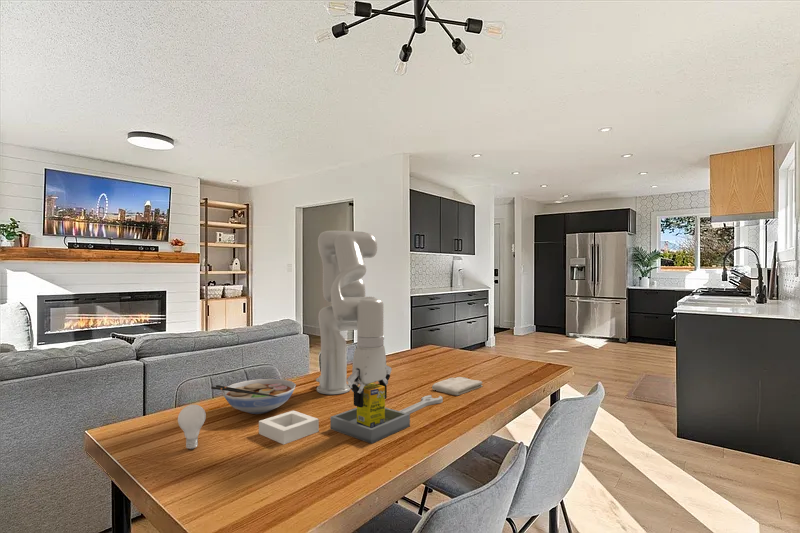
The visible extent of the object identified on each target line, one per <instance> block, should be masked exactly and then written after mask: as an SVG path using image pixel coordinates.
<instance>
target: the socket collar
mask: <svg viewBox="0 0 800 533" xmlns="http://www.w3.org/2000/svg"><path fill="white" fill-rule="evenodd" d="M319 420H320V419H319V418H317V417H314V416H312V415H307V414H305V413H302V412H299V411H297V410H290V411H287V412H284V413H280V414H277V415H274V416H271V417H267V418H265V419H261V420H258V434H259V435H260V436H263V437H266V438H268V439H270V440H272V441H275V442H276V443H279V444H281V445H286V444H288V443H292V442H294V441H297V440H300V439H302V438H305V437H307V436H310V435H313V434H316V433H318V432H320V431H319V430H320V427H319V426H320V424H319Z"/></svg>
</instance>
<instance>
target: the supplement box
mask: <svg viewBox="0 0 800 533" xmlns="http://www.w3.org/2000/svg"><path fill="white" fill-rule="evenodd" d="M359 386H360V385H358V387H359ZM362 393H363V407H357V406H356V408H357V424H360V425H363V426H366V427H369V428H373V427H376V426H378V425H380V424H383V423H385V407H386V399H385V386H381V385H378V383H376V382H374V383H370V384H367V385H365V386H364V388H363V390H362Z"/></svg>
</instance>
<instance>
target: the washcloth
mask: <svg viewBox="0 0 800 533" xmlns="http://www.w3.org/2000/svg"><path fill="white" fill-rule="evenodd" d="M483 387H484V386H483V381H481V380H478V379H472V378H471V379H470V378H467V377H462V376H457V377H449V378H447V379H443V380H441V381H438V382H435V383H433V384H432V386H431V388H432V389H431V390H433V391H435V390H436V391H435V392H441V393H445V394H448V395H453V396H456V397H457V396H460V395H463V394H465V393H466V394H467V393H469V392H471V390H472V391H474V390H478V389H479V388H483Z"/></svg>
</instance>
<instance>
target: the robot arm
mask: <svg viewBox="0 0 800 533" xmlns="http://www.w3.org/2000/svg"><path fill="white" fill-rule="evenodd" d="M317 248H318V253H319V256H320V259H321V263H322V296H323V299H324V300H325V301H326V302H327V303H329V302H330V303H331V305H328V306H324V307H322V308H321V309H320V310H319V312H318V324H319V331H320V332H319V333H320V375H319V376H318V377H316V379H315V381H316V382H317V383H319V385H318V386H317V387H316V392H317V393H319V394H322V395H340V394H341V395H342V394H346V393H348V392H350V391H351V392H353V406H355V407H356V408H357V407H363V393H362V390H363V388H364V386H365V385H367V384H371V383H377V384H378V385H381V386H385V400H386V399H387V398H388V396H387V390H388V389H387V385H389V379H390V378H391V372H392V370H393V369H392V367H391V366H389V365H387V357H386V356H387V355H386V349H385V345H384V340H385V336H384V302H383V301H382V300H381V299H378V298H377V297H374V296H366V286H365V283H364V280H363V279H362V278H363V277H364V276H365V275H366V272H367V266H366V263H365V260H364V258H366V259H367V258H368V259H370V258H374V257H375V256H376V254H377V253H378V242H377V239H376V237H374V235H373V234H372V233H369V232H364V231H355V230H353V231H352V230H325V231H322V232H320V234H319V236H318V237H317ZM356 330H357V332H356V339H357V340H356V341H357V342H356V343H357V344H356V347H355V348H354V353H353V359H352V367H351V368H352V373H351V374H350V375H349V376H348V375H347V368H348V367H347V363H348V362H347V359H348V358H347V356H348V355H347V354H348V353H347V349H348V348H347V341H346V338H345V337H343V335H342V334H341V332H344V331H356ZM347 376H348V377H347ZM358 386H359V387H358Z"/></svg>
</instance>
